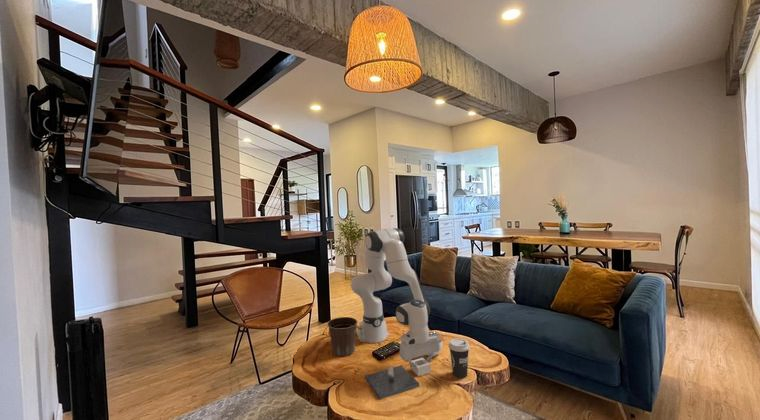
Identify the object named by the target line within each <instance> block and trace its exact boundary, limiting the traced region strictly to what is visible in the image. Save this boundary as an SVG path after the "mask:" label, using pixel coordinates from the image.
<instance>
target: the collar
mask: <svg viewBox="0 0 760 420" xmlns="http://www.w3.org/2000/svg"><path fill="white" fill-rule="evenodd" d="M411 362H413V363H414V367H412V368H411V367H410V371H412V372H413V373H414V374H415V375H416V376H417V377H420V376H424V375H426V374H430V373H431V372H432V370H431V362H427V359H425V358H424V357H419V358H417V359H416V358H415V359H414V360H413V359H412V361H411Z"/></svg>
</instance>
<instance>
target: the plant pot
mask: <svg viewBox="0 0 760 420" xmlns="http://www.w3.org/2000/svg"><path fill="white" fill-rule="evenodd" d="M357 324H358V320H357V319H356V318H354V317H349V316H342V317H336V318H333V319H331V320H329V321H328V322H327V328H328V332H329V336H330V342H331V350H332V353H333V355H334V356H337V357H347V356H348V355H349V356H350V355H352V354H354V352H355V350H356V334H357V333H356V330H357Z"/></svg>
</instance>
